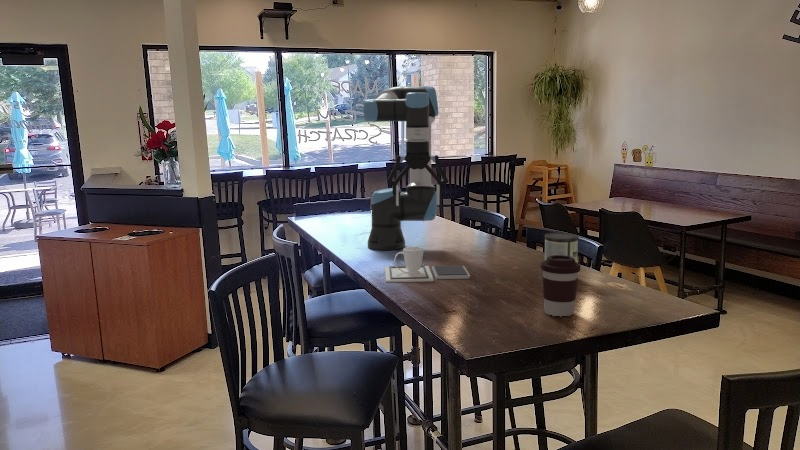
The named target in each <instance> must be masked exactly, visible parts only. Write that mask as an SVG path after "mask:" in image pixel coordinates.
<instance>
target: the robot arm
mask: <svg viewBox="0 0 800 450" xmlns="http://www.w3.org/2000/svg"><path fill="white" fill-rule="evenodd" d="M438 103H439V102H438V97H437V90H436V88H435V87H433V86H429V85H428V86H427V85H421V86H415V85H414V86H411V85H410V86H393V87H389V88H386V89H384V90H381V91H380V92H379V93H377V94H376V96H375V99H374V98H371V99H365V100H364V102H363V118H364V120H365V122H370V123H371V122H372V123H378V122H380V123H381V122H382V123H383V122H385V123H386V122H405V139H406V142H405V156H402V155H396V160H395V164H394V165H393V168H392V170H391V172H390V174H389V176H388V178H387V181H386V184H387V185H390V186H392V187H391V188H389V187H388V188H383V189H379V190H376V191H373V193H371V202H370V205H371V229H370V233H369V236H368V240H367V248H369V249H370V250H378V251H393V250H401V249H404V248H405V247H406V239H405V237H404V233H403V230H402V227H401V226H402V225H401V224H402V222H407V221H408V222H429V221H431V222H432V221H434V220H435V219H436V216H437V207H438V206H440V202H441V201H440V196H442V195H443V194H444V185H445V184H448V183H449V179H448V177H447V176H446V172H445V171H444V169H443V167H442V165H441V164H440V160H439V159H440V158H439V155H437V154H435V155H432V124H433V123H434V122H435V121H436V117H438V116H439V104H438ZM404 161H405V162H406V163H407V164H406V165H405V166H404V167H403V169H402V171H401V172H400V173H399V174H398V175H397V176H396V178H395V177H394V176H395V174H396V173H397V171H398V168H399V167H400V164H401V163H403V162H404ZM432 162H433V163H435V166H436V167H437V169H438V172H439V173H440V175H441V178H442V180H441V178H440V177H439V176H438V175H437V174H436V173H435V172H434V170H433V169H432ZM408 172H409V183H408V184H407V186H406V187H405V191H402V190H401V188H400V187H399V185H398V183H399V182H400V181H401V180H402V179H403V178H404V176H405V175H406V174H407V173H408ZM432 177H433V179H434V180H435V181H436V182H437V183H438V184H436V186H435V185H434V184H433V183H432ZM394 178H395V179H394ZM393 179H394V180H393Z"/></svg>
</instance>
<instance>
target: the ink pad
mask: <svg viewBox="0 0 800 450" xmlns="http://www.w3.org/2000/svg"><path fill="white" fill-rule="evenodd" d="M431 272H432V273H433V275H434V276H433V277H434V278H435V280H462V279H463V280H464V279H467V280H469V279H471V275H470V273H469V271H468V270H467V268H466V267H465V266H464V265H462V264H461V265H460V264H459V265H434V266H431Z"/></svg>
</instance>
